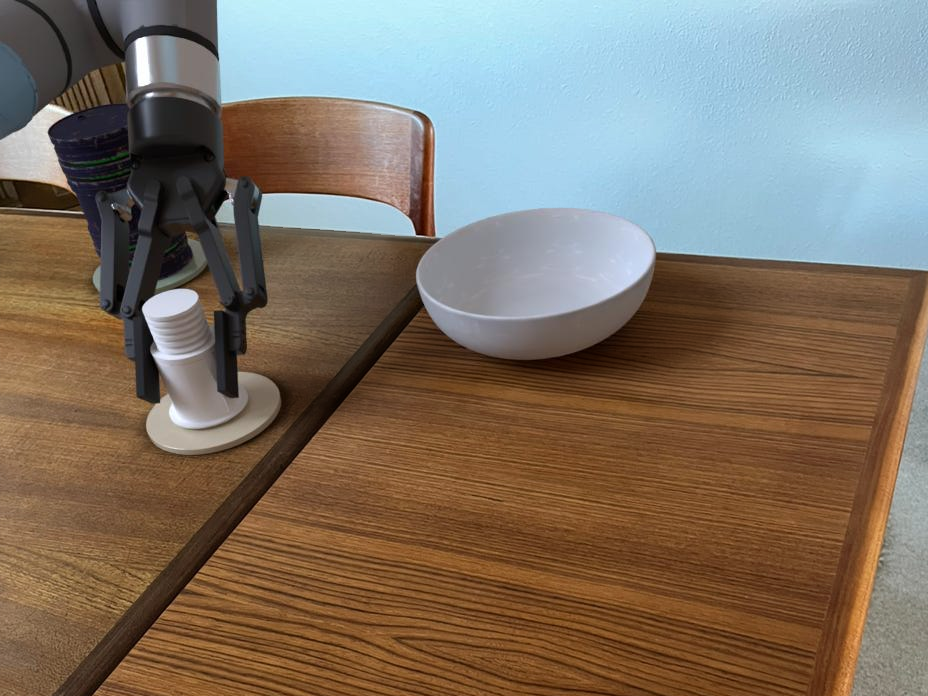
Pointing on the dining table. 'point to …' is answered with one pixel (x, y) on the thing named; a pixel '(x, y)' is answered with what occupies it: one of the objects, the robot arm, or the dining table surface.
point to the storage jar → (105, 172)
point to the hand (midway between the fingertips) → (188, 396)
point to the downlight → (188, 360)
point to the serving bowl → (537, 281)
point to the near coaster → (222, 436)
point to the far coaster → (179, 278)
